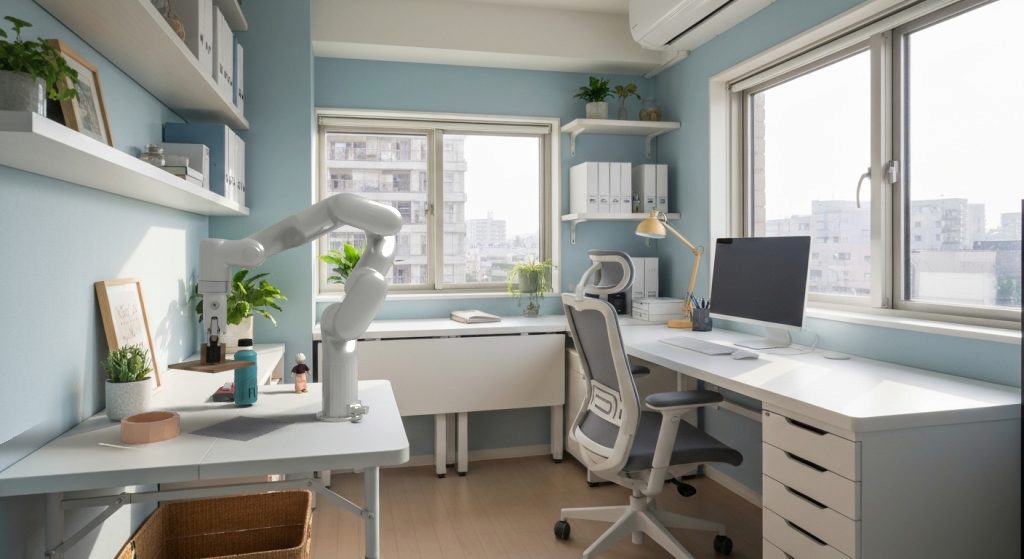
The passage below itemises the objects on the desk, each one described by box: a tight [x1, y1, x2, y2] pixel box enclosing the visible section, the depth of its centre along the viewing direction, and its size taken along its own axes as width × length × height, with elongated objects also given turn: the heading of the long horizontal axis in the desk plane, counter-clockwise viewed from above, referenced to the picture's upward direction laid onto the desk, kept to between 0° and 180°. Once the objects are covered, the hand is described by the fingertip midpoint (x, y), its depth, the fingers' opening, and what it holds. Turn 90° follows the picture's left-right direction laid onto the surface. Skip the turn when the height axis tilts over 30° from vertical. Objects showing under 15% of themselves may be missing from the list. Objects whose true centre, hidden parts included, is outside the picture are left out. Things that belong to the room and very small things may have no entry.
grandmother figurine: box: [289, 352, 312, 394], centre depth 206 cm, size 8×4×13 cm, turn 154°
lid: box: [167, 342, 255, 375], centre depth 159 cm, size 14×14×6 cm
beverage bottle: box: [233, 338, 259, 405], centre depth 185 cm, size 6×7×20 cm
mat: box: [187, 415, 296, 442], centre depth 163 cm, size 18×18×1 cm
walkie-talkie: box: [212, 381, 235, 403], centre depth 200 cm, size 9×4×20 cm
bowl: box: [120, 410, 181, 445], centre depth 154 cm, size 12×12×5 cm
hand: (212, 359), depth 159 cm, fingers closed on lid, 5 cm apart
